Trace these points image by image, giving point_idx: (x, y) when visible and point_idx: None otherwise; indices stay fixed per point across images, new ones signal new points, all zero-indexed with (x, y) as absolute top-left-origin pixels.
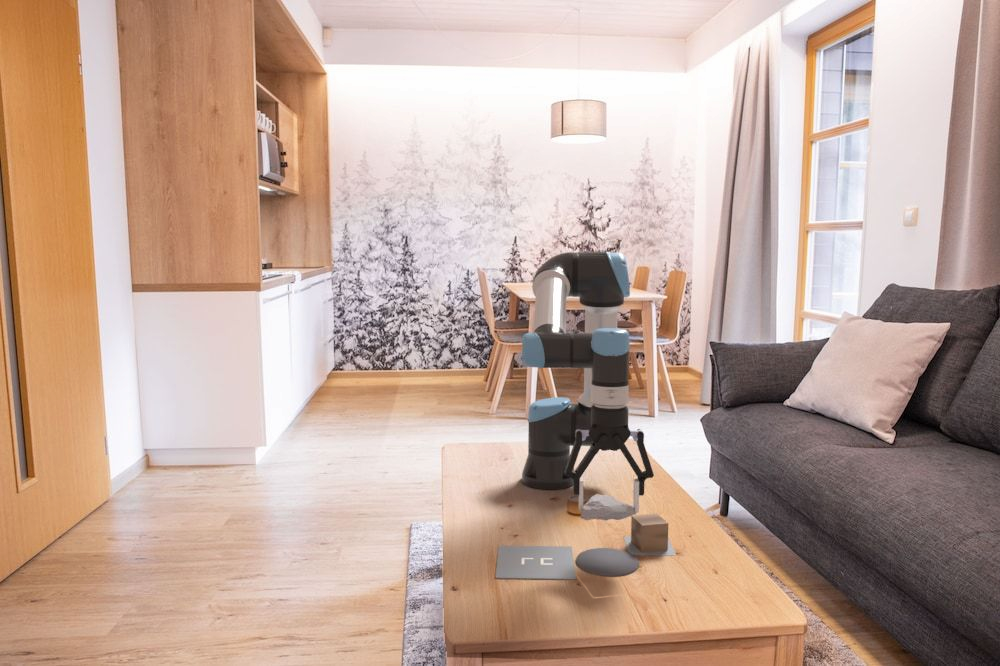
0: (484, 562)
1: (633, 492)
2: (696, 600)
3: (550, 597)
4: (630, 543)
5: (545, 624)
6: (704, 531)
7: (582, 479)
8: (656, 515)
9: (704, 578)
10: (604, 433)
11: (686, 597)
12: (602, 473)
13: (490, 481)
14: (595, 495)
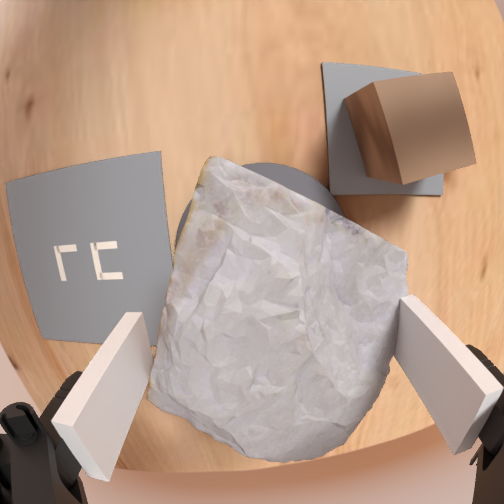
0: (6, 269)
1: (436, 339)
2: (409, 384)
3: (150, 402)
4: (340, 112)
5: (163, 456)
6: (499, 56)
7: (92, 462)
8: (451, 89)
9: (457, 303)
10: None
11: (398, 379)
12: None
13: None
14: (200, 204)
